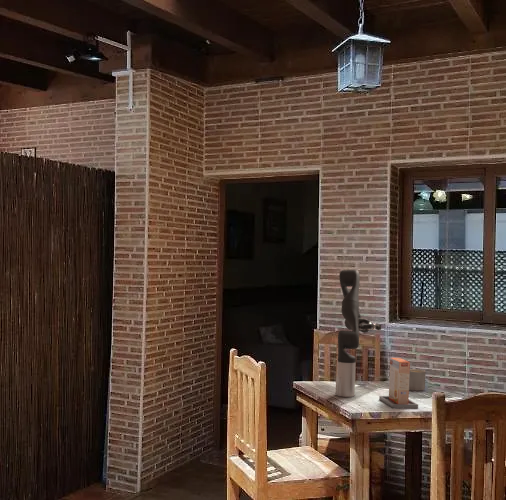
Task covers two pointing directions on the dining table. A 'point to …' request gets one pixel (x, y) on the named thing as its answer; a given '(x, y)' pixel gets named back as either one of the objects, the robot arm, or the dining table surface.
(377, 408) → the dining table surface
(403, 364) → the cracker box
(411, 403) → the tray
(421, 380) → the coffee mug
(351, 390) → the robot arm
